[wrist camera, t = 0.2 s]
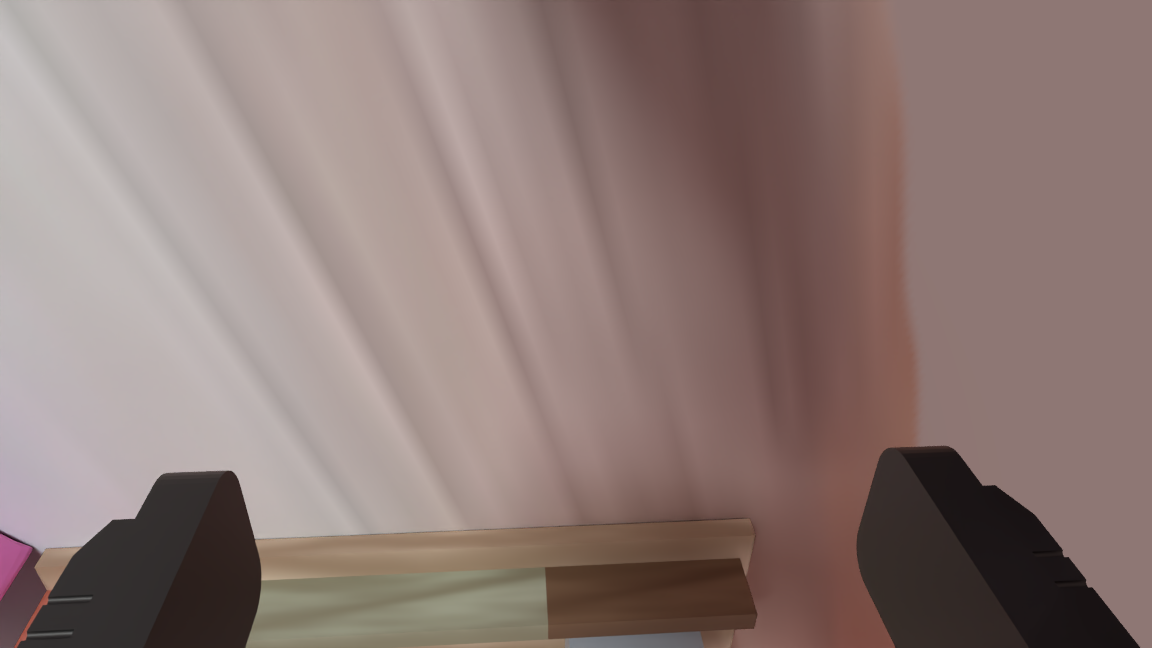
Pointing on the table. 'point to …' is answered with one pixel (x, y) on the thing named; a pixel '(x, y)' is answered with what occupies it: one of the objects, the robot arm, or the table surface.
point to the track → (498, 586)
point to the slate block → (639, 641)
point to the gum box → (11, 561)
